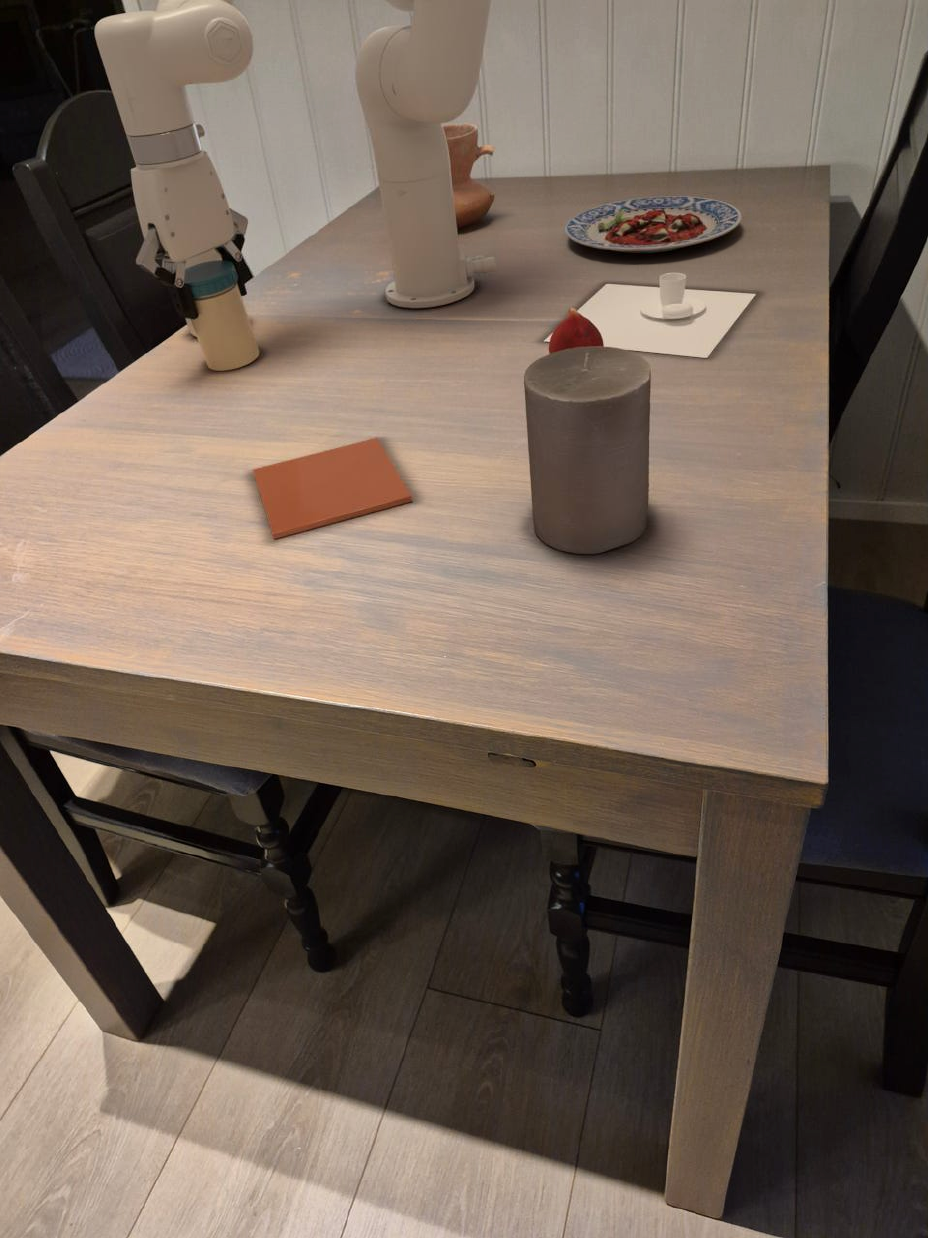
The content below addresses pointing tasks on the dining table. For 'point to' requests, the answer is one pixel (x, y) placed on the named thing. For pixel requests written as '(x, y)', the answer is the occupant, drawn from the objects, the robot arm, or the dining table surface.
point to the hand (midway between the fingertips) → (213, 304)
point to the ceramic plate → (653, 223)
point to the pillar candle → (588, 447)
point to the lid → (210, 277)
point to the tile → (329, 487)
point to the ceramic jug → (467, 173)
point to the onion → (575, 333)
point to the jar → (225, 330)
